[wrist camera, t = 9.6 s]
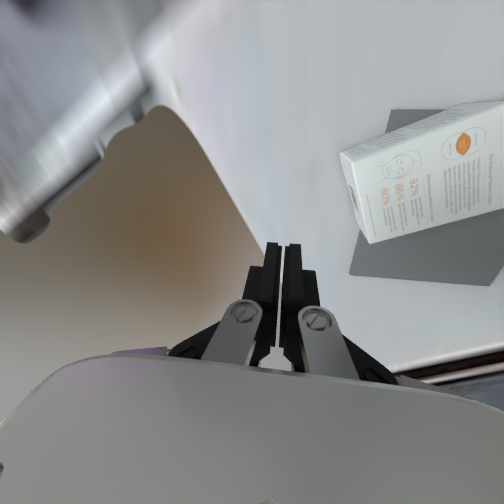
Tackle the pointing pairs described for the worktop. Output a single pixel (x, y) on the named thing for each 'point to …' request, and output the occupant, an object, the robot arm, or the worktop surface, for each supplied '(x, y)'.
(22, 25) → the worktop surface
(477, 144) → the small box
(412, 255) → the mat
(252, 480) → the robot arm
